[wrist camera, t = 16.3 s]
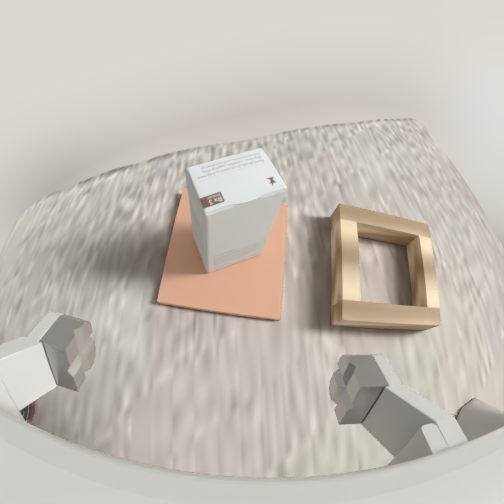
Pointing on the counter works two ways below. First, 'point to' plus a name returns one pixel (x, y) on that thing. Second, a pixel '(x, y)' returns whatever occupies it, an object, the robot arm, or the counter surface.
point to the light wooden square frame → (348, 271)
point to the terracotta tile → (224, 273)
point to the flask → (479, 419)
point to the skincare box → (233, 206)
